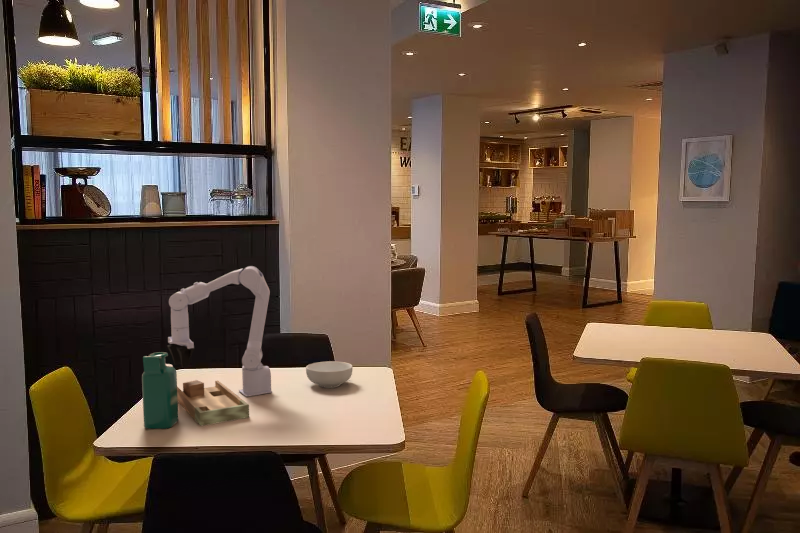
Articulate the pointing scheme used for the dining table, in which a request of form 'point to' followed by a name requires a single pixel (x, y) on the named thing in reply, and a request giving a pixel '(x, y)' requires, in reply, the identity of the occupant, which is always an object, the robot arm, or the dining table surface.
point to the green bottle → (159, 392)
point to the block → (193, 388)
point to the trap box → (214, 405)
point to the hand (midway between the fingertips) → (181, 366)
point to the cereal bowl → (329, 373)
